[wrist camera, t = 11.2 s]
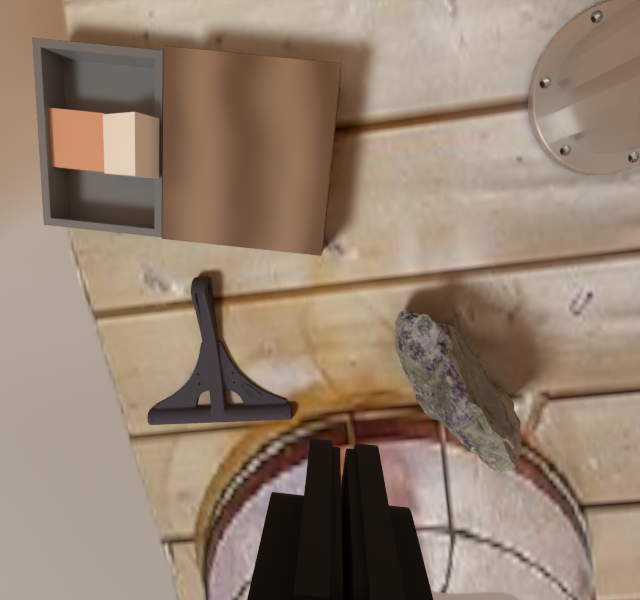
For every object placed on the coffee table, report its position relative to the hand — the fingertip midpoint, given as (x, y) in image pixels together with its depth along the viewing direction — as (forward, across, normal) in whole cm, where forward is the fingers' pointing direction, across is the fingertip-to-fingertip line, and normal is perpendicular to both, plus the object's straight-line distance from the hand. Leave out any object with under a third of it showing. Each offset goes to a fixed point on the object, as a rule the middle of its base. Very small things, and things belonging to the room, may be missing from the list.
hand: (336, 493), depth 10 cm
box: (+27, +20, -10) cm, 35 cm away
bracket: (+28, +11, +8) cm, 31 cm away
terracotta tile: (+25, +22, -10) cm, 35 cm away
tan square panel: (+27, +8, -10) cm, 30 cm away
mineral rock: (+27, -12, +7) cm, 31 cm away
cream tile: (+25, +17, -10) cm, 32 cm away
